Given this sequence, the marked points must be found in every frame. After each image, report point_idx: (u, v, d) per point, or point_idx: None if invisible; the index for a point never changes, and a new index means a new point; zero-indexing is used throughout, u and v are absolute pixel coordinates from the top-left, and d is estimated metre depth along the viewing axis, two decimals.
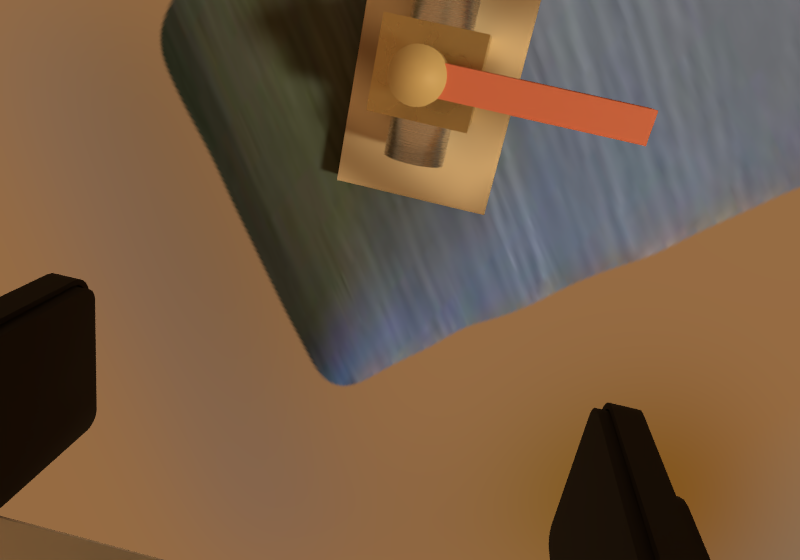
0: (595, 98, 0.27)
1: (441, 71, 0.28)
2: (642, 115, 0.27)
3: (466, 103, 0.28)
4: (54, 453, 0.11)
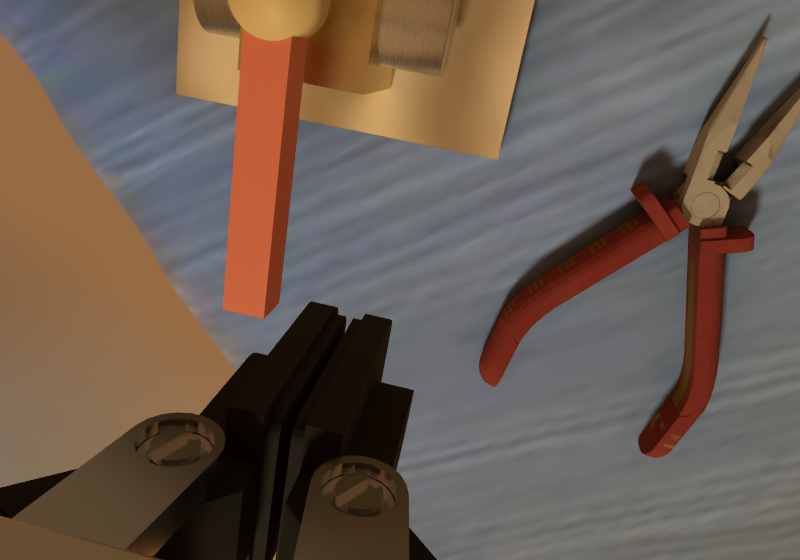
0: (268, 247, 0.21)
1: (279, 32, 0.19)
2: (256, 302, 0.22)
3: (242, 74, 0.19)
4: None
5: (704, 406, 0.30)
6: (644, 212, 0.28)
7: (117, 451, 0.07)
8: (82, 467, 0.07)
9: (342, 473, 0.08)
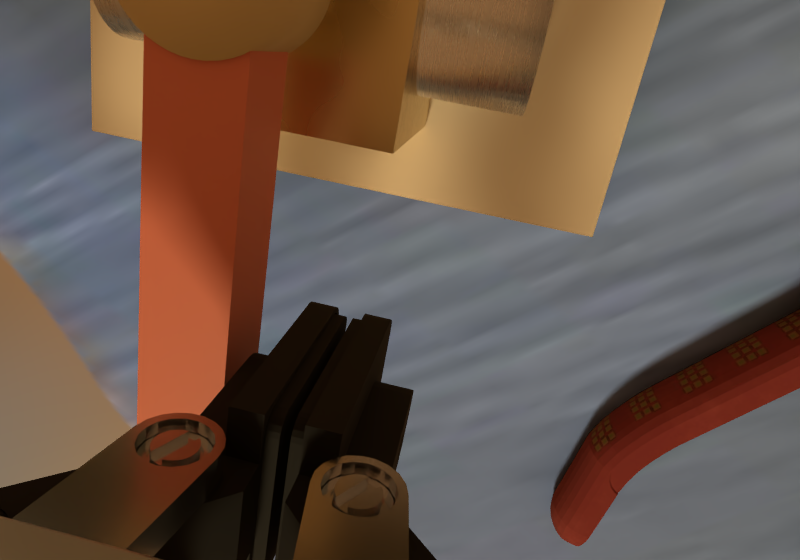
0: None
1: (222, 41, 0.08)
2: None
3: (147, 130, 0.09)
4: None
5: None
6: None
7: (117, 451, 0.07)
8: (82, 467, 0.07)
9: (342, 473, 0.08)
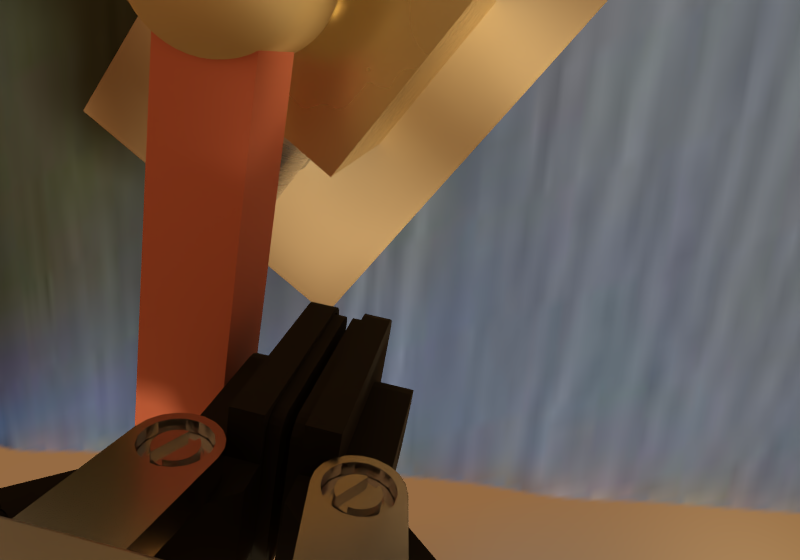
0: None
1: (230, 40, 0.08)
2: None
3: (152, 127, 0.09)
4: None
5: None
6: None
7: (117, 451, 0.07)
8: (82, 467, 0.07)
9: (341, 473, 0.08)
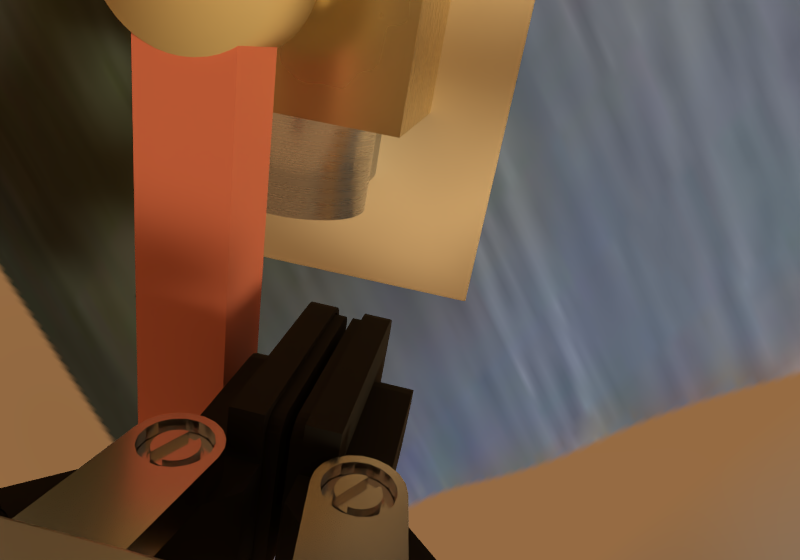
0: None
1: (209, 37, 0.08)
2: None
3: (137, 129, 0.09)
4: None
5: None
6: None
7: (118, 451, 0.07)
8: (83, 467, 0.07)
9: (342, 473, 0.08)
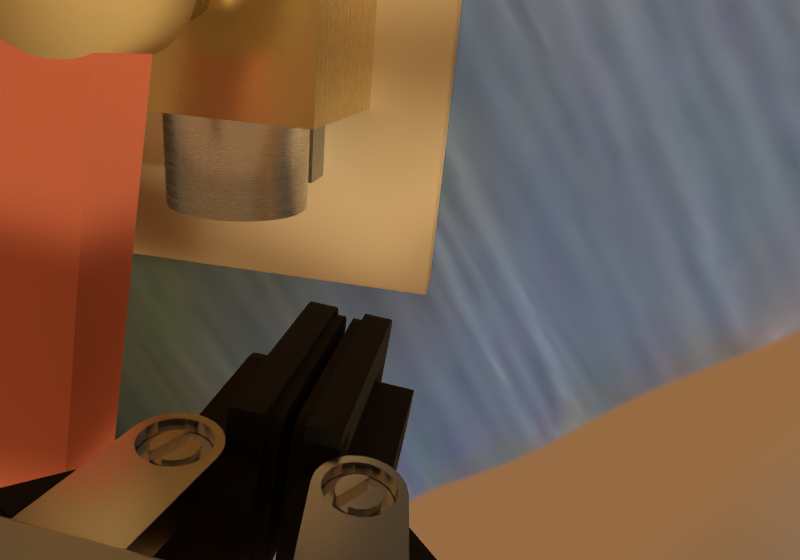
0: (64, 442, 0.11)
1: (63, 41, 0.08)
2: None
3: None
4: None
5: None
6: None
7: (117, 451, 0.07)
8: (82, 467, 0.07)
9: (342, 473, 0.08)
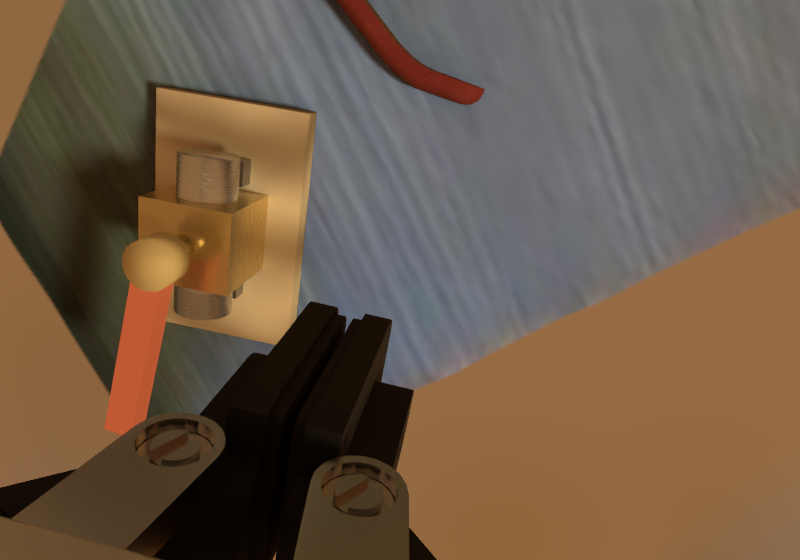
0: (136, 398, 0.34)
1: (151, 287, 0.31)
2: (125, 428, 0.35)
3: (127, 303, 0.32)
4: None
5: None
6: None
7: (117, 451, 0.07)
8: (82, 467, 0.07)
9: (342, 473, 0.08)
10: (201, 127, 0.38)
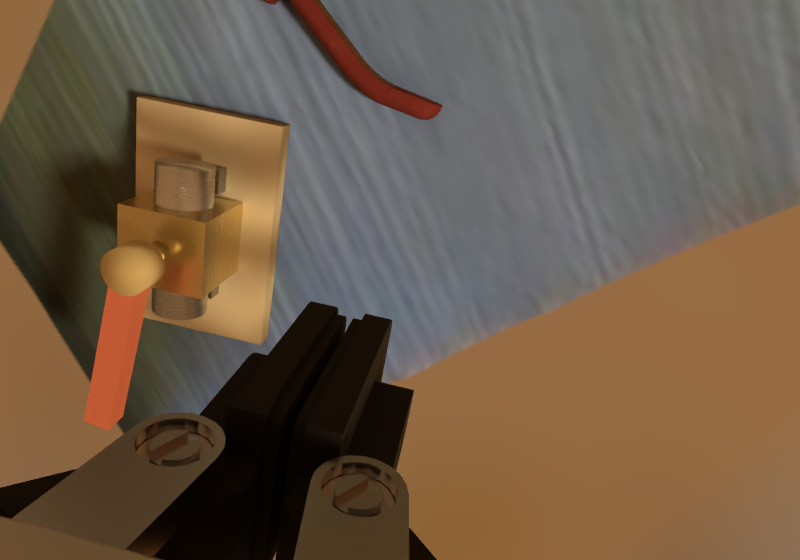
0: (113, 394, 0.36)
1: (127, 292, 0.34)
2: (104, 421, 0.37)
3: (106, 306, 0.34)
4: None
5: None
6: None
7: (117, 451, 0.07)
8: (82, 467, 0.07)
9: (342, 473, 0.08)
10: (179, 136, 0.40)
